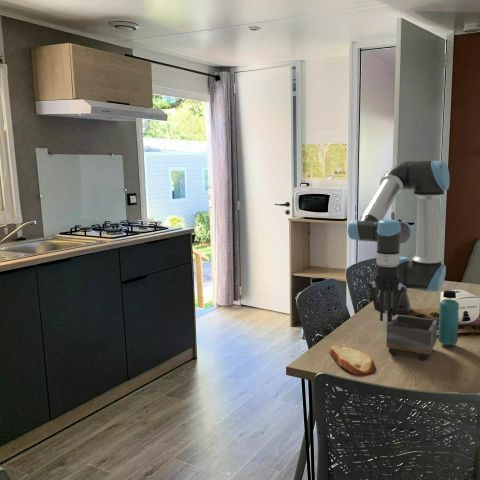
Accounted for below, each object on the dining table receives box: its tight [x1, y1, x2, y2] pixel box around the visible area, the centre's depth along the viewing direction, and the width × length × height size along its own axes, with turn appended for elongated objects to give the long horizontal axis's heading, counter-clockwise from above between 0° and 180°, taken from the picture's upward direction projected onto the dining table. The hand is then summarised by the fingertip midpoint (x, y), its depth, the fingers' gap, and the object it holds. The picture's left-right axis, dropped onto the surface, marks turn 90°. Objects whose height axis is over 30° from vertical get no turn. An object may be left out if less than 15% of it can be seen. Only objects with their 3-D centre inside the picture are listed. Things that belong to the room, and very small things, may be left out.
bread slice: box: [328, 345, 376, 377], centre depth 165 cm, size 18×18×4 cm
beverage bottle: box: [437, 289, 460, 345], centre depth 177 cm, size 6×7×20 cm
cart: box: [385, 314, 438, 362], centre depth 172 cm, size 14×14×10 cm
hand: (385, 330), depth 176 cm, fingers closed
